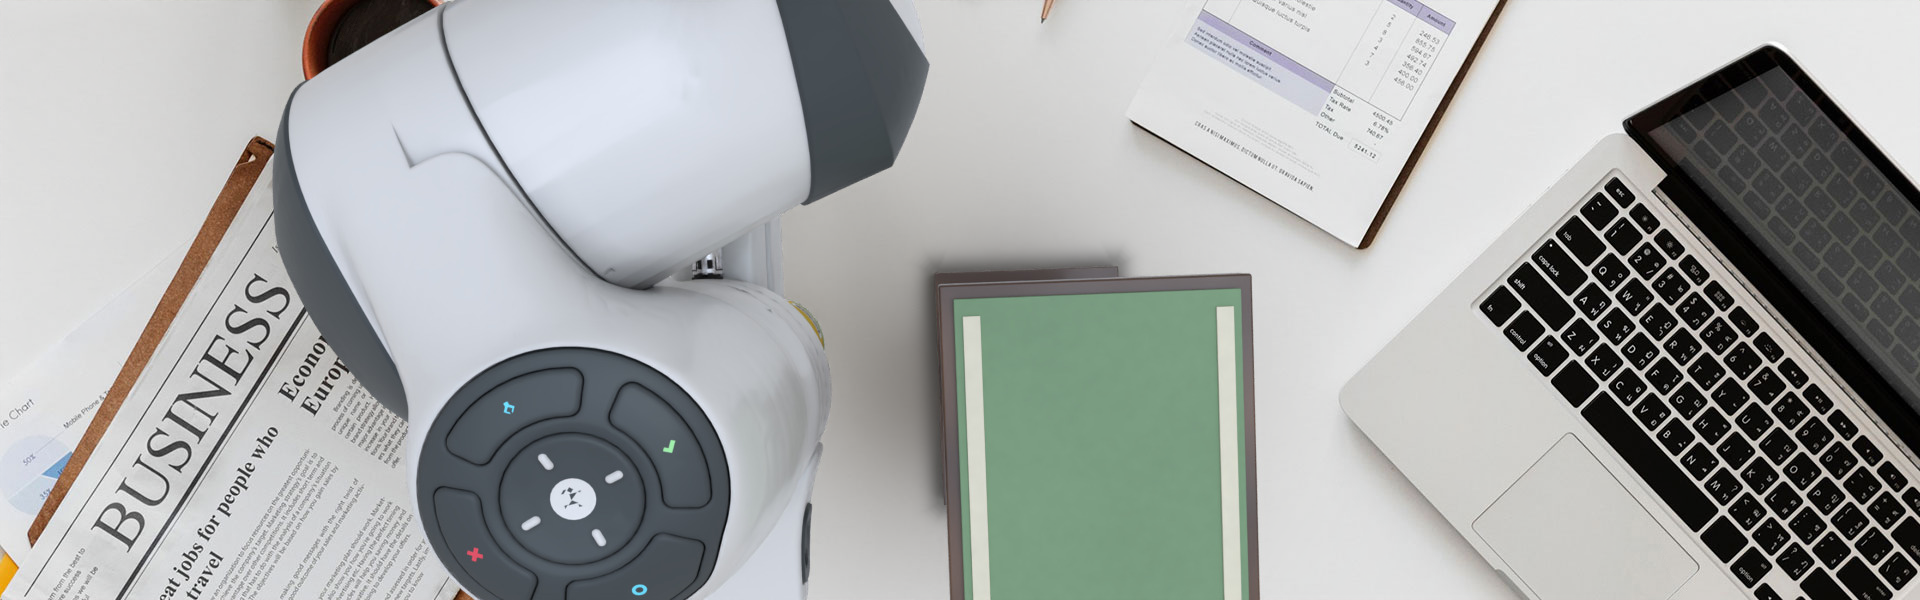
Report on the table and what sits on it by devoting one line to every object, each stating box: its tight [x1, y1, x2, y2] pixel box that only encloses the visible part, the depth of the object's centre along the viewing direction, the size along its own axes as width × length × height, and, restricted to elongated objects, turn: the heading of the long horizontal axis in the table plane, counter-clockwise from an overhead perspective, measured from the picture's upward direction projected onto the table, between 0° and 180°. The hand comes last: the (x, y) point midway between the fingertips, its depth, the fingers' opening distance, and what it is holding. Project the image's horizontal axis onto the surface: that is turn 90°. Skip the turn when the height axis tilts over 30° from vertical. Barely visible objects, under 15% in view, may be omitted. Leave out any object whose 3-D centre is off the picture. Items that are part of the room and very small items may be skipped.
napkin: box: [953, 288, 1249, 600], centre depth 37 cm, size 13×10×1 cm
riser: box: [934, 265, 1261, 600], centre depth 51 cm, size 14×11×28 cm
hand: (764, 356), depth 53 cm, fingers closed on supplement bottle, 5 cm apart
